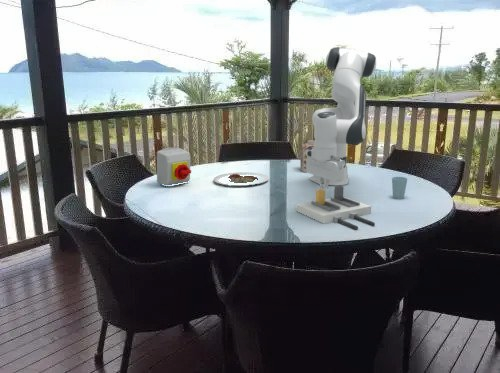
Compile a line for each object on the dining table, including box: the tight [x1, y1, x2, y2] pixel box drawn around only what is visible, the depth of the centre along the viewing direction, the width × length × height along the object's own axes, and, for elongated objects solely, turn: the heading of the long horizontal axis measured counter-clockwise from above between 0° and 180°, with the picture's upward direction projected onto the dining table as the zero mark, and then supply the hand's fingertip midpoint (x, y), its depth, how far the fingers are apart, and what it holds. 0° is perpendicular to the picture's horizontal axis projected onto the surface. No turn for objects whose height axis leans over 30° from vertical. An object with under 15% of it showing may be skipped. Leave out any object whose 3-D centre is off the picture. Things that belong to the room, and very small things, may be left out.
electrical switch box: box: [156, 147, 192, 185], centre depth 221 cm, size 14×15×20 cm
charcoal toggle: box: [333, 185, 344, 201], centre depth 176 cm, size 2×3×6 cm, turn 118°
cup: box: [391, 176, 408, 200], centre depth 190 cm, size 7×7×9 cm
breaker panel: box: [295, 196, 372, 224], centre depth 171 cm, size 18×24×4 cm
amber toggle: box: [315, 188, 326, 205], centre depth 171 cm, size 2×3×6 cm, turn 118°
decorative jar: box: [300, 139, 315, 173], centre depth 250 cm, size 12×12×18 cm
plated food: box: [213, 172, 270, 187], centre depth 228 cm, size 30×30×3 cm
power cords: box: [332, 212, 376, 230], centre depth 158 cm, size 12×10×2 cm
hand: (323, 188), depth 168 cm, fingers closed
